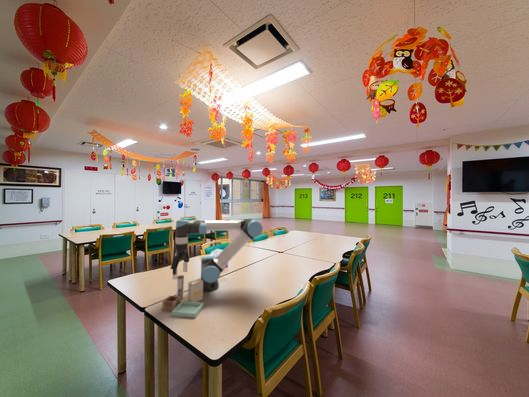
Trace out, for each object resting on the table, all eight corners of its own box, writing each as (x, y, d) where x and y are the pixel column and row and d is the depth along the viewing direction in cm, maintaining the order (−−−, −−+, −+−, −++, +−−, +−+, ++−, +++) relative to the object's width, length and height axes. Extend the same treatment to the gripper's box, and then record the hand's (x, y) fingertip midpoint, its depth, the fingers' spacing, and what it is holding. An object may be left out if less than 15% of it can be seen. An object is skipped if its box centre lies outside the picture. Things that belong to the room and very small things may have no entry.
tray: (181, 305, 127) (182, 301, 127) (203, 306, 125) (203, 302, 125) (171, 316, 115) (171, 311, 115) (195, 318, 113) (195, 313, 113)
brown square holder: (169, 303, 128) (169, 295, 128) (180, 304, 128) (181, 296, 128) (162, 309, 121) (162, 301, 121) (174, 310, 120) (174, 302, 120)
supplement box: (198, 297, 137) (199, 278, 137) (202, 300, 134) (203, 280, 134) (187, 302, 130) (188, 281, 130) (191, 304, 127) (192, 284, 127)
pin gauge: (178, 297, 136) (179, 275, 136) (184, 297, 136) (184, 275, 136) (175, 300, 132) (176, 277, 132) (181, 300, 132) (182, 277, 132)
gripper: (185, 239, 147) (183, 268, 147) (165, 247, 122) (163, 282, 122) (194, 239, 146) (193, 269, 146) (177, 247, 121) (175, 283, 121)
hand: (180, 275), depth 134 cm, fingers open, 13 cm apart
